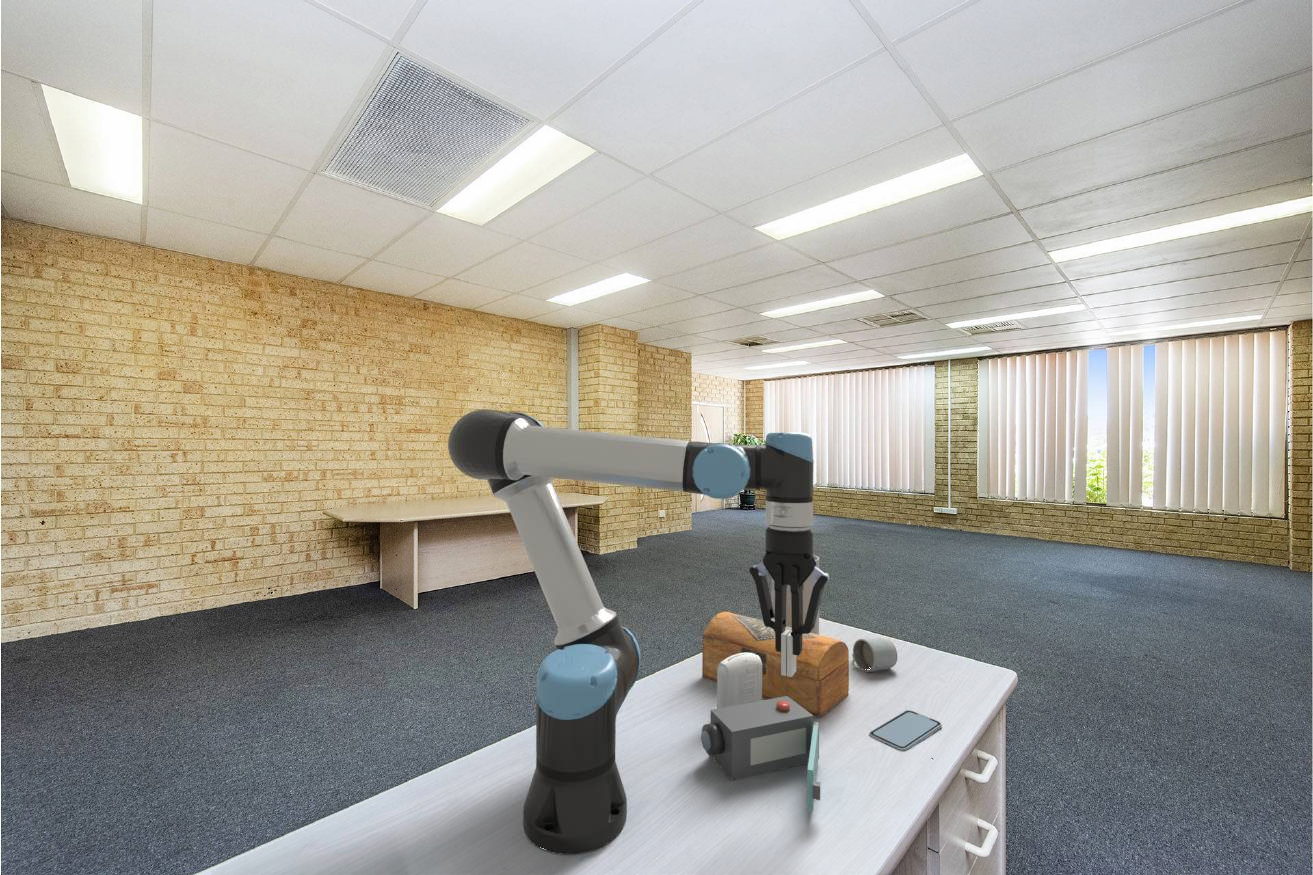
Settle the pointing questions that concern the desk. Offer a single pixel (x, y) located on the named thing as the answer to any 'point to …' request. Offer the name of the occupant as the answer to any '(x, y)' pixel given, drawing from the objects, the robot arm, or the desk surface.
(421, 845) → the desk surface
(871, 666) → the ceramic mug
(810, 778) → the side door
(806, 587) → the cylinder vase
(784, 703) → the camera body
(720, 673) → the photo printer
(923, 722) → the smartphone
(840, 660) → the wooden box
